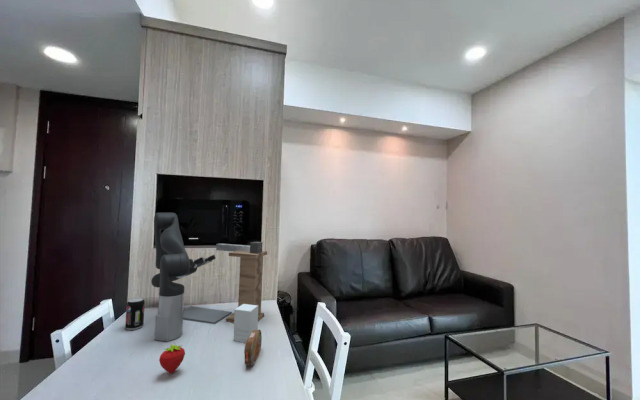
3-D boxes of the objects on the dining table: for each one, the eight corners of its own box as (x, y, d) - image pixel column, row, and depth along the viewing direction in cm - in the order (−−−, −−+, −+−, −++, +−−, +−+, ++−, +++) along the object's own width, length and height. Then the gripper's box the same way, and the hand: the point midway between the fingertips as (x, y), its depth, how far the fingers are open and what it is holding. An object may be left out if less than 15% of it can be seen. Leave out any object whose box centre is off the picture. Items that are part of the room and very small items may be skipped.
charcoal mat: (214, 324, 126) (214, 322, 126) (170, 317, 132) (170, 315, 132) (231, 313, 140) (231, 311, 140) (190, 307, 146) (191, 306, 146)
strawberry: (154, 375, 87) (156, 342, 87) (179, 365, 93) (180, 334, 93) (163, 382, 83) (164, 348, 84) (187, 371, 89) (189, 340, 89)
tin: (251, 370, 91) (252, 344, 91) (241, 370, 91) (243, 344, 91) (262, 348, 106) (262, 325, 106) (253, 347, 106) (254, 325, 106)
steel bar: (257, 253, 131) (257, 243, 131) (214, 250, 136) (215, 240, 137) (262, 252, 136) (262, 242, 136) (220, 249, 141) (221, 239, 142)
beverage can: (141, 329, 118) (143, 301, 118) (122, 331, 116) (124, 302, 116) (144, 323, 124) (146, 296, 125) (127, 325, 122) (129, 297, 122)
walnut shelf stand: (252, 325, 126) (255, 255, 127) (225, 321, 129) (228, 252, 131) (264, 316, 138) (267, 251, 139) (239, 312, 141) (241, 249, 142)
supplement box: (258, 335, 116) (259, 305, 117) (249, 343, 109) (250, 311, 110) (242, 333, 118) (243, 303, 119) (232, 340, 111) (234, 308, 112)
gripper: (171, 264, 138) (196, 252, 133) (193, 259, 151) (216, 249, 147) (176, 278, 136) (200, 267, 132) (197, 273, 150) (220, 262, 145)
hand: (208, 257), depth 139 cm, fingers open, 8 cm apart
